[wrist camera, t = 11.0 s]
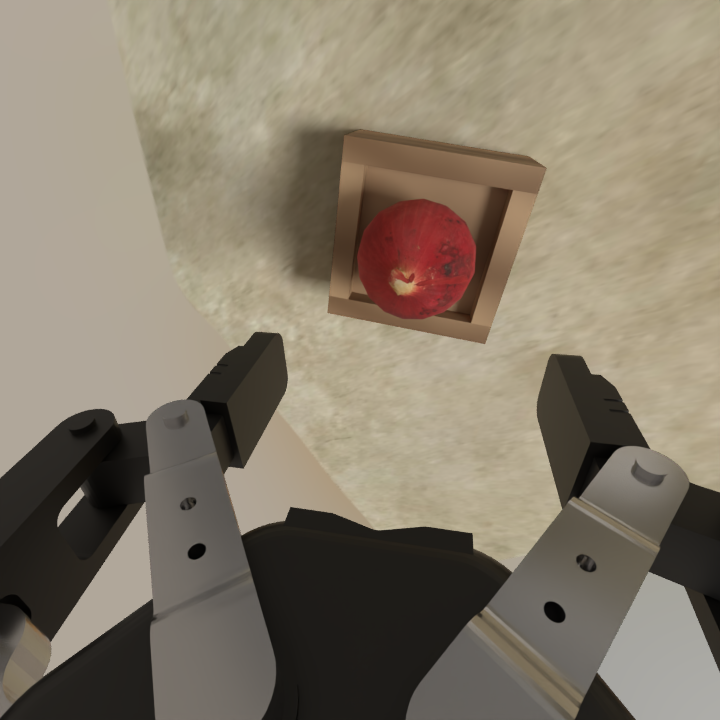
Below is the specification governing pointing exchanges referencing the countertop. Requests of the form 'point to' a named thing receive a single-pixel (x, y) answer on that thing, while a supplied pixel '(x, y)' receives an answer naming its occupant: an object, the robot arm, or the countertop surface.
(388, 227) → the onion
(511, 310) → the countertop surface
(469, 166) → the wooden box
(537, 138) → the countertop surface
